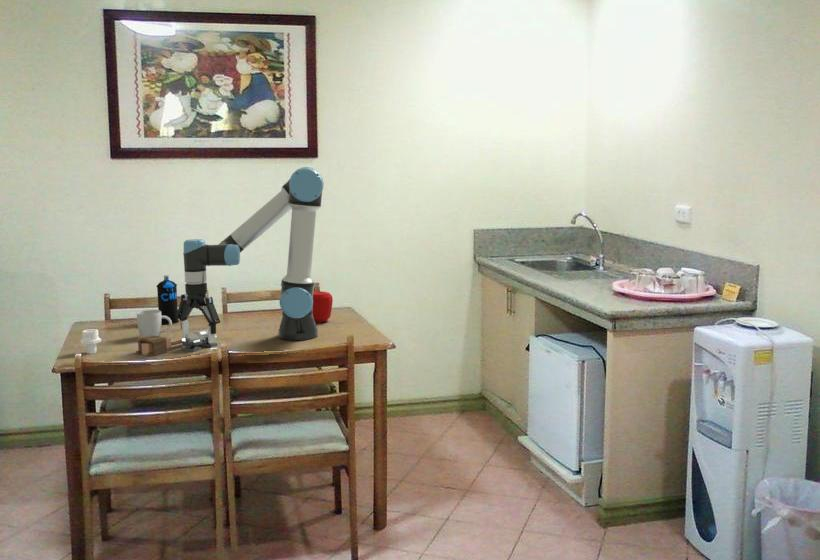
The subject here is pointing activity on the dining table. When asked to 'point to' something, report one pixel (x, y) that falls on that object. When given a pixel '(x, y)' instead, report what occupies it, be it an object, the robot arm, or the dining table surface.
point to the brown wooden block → (148, 346)
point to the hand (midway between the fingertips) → (198, 340)
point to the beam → (157, 344)
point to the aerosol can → (167, 300)
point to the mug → (151, 322)
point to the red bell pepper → (322, 306)
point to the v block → (194, 343)
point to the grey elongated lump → (197, 336)
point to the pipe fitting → (90, 340)
